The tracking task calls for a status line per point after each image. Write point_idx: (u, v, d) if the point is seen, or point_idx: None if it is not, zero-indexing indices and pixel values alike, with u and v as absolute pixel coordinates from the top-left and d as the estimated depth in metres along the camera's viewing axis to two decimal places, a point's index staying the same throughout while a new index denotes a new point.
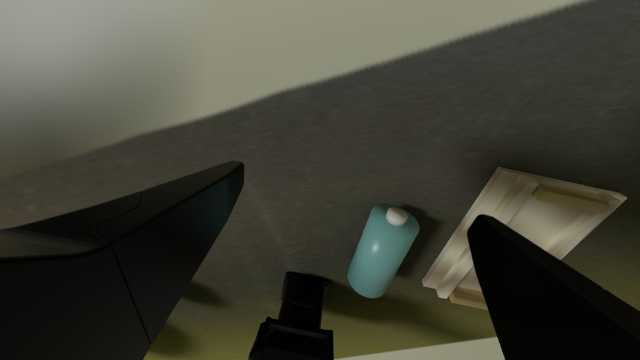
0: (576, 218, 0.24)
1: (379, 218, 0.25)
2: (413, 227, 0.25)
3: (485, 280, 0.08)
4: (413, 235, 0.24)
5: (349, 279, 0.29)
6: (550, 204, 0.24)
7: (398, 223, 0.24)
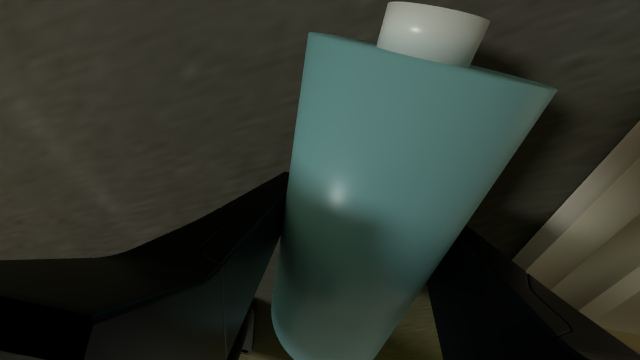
0: None
1: (347, 40, 0.05)
2: (516, 78, 0.05)
3: None
4: (544, 88, 0.04)
5: (272, 311, 0.10)
6: None
7: (446, 40, 0.04)
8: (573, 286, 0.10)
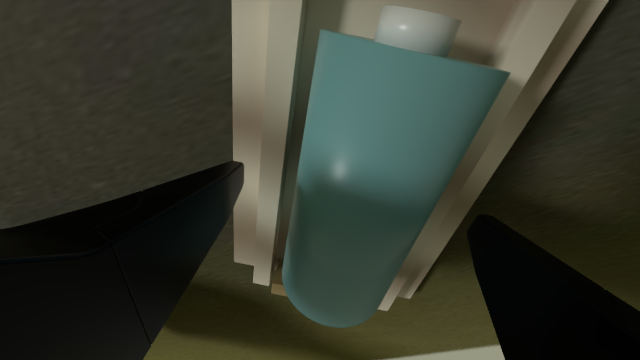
0: (499, 38, 0.08)
1: (350, 36, 0.06)
2: (483, 65, 0.06)
3: (485, 280, 0.08)
4: (498, 71, 0.05)
5: (283, 276, 0.11)
6: None
7: (427, 35, 0.06)
8: None
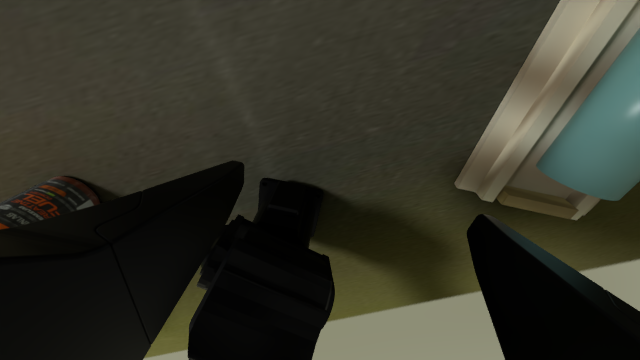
0: None
1: None
2: None
3: (485, 280, 0.08)
4: None
5: (557, 175, 0.17)
6: None
7: None
8: (504, 155, 0.20)
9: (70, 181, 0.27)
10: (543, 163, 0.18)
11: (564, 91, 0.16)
